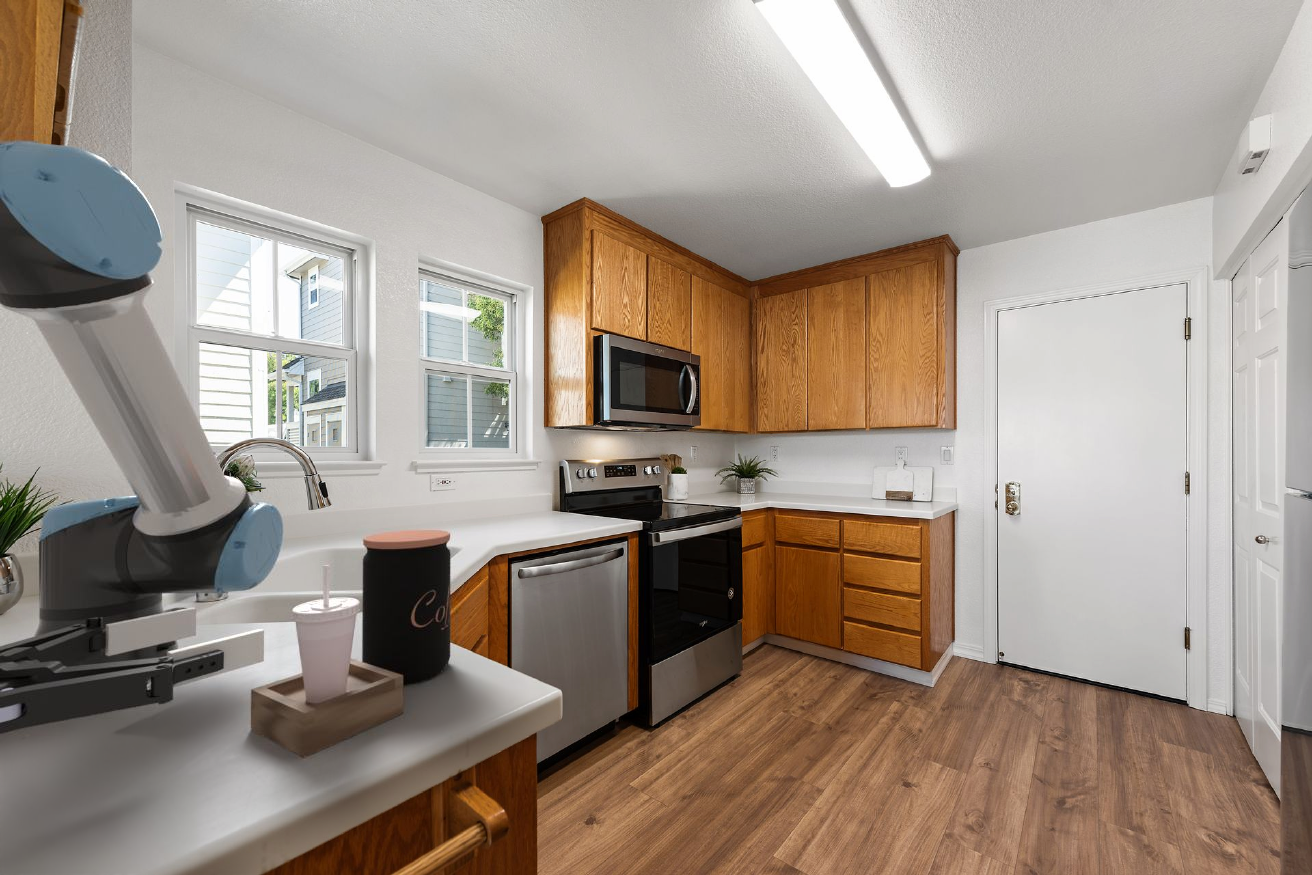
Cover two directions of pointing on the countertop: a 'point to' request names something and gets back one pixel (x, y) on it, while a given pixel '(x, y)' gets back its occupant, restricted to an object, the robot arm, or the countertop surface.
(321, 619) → the smoothie
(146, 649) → the robot arm
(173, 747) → the countertop surface
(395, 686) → the wooden tray
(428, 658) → the coffee jar
